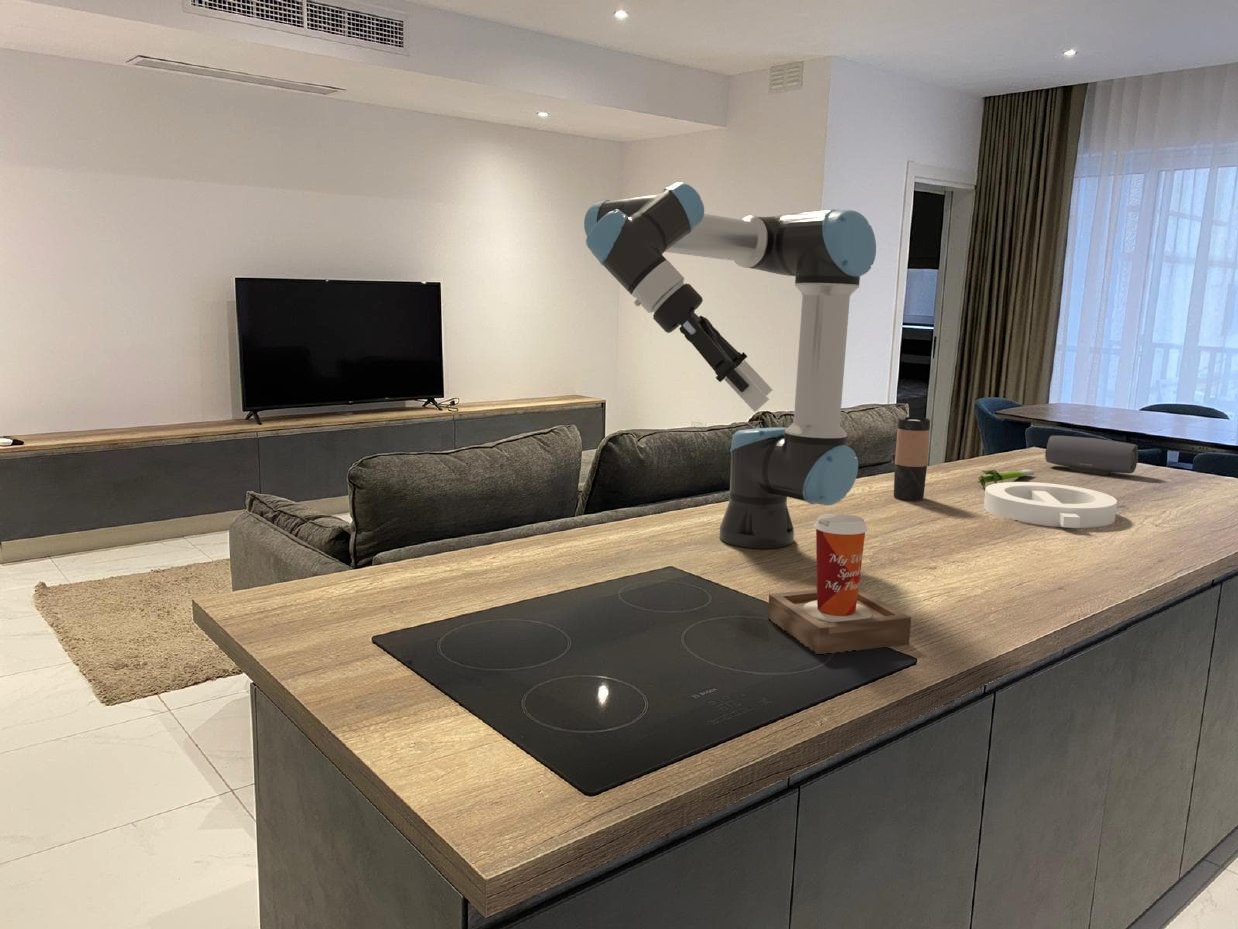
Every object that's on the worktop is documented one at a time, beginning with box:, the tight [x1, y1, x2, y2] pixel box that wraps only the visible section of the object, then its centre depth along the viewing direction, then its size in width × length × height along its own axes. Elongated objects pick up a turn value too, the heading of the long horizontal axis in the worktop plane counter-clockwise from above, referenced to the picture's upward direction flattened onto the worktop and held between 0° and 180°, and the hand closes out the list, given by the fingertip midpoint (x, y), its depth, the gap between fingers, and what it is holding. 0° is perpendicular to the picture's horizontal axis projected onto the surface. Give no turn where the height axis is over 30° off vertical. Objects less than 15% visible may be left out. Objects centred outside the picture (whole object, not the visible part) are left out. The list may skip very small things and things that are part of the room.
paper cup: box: [813, 513, 869, 616], centre depth 133 cm, size 8×8×14 cm
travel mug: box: [893, 416, 931, 502], centre depth 224 cm, size 8×8×20 cm
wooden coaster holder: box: [767, 588, 912, 655], centre depth 135 cm, size 15×15×4 cm
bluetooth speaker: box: [1044, 435, 1139, 476], centre depth 263 cm, size 23×9×10 cm, turn 46°
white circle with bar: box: [983, 481, 1118, 529], centre depth 212 cm, size 28×28×5 cm
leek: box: [977, 468, 1035, 489], centre depth 246 cm, size 6×7×30 cm
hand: (764, 400), depth 136 cm, fingers open, 13 cm apart
